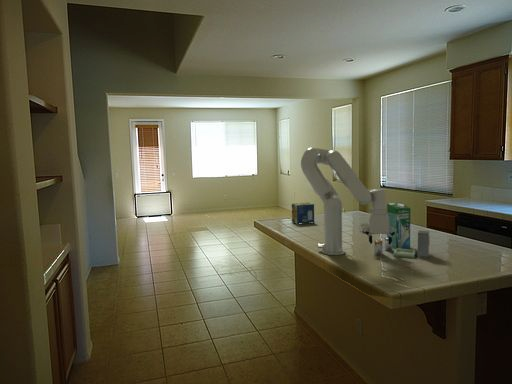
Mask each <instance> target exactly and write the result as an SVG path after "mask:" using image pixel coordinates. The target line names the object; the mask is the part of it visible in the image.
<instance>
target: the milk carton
mask: <svg viewBox="0 0 512 384" xmlns="http://www.w3.org/2000/svg"><path fill="white" fill-rule="evenodd" d="M386 211H387V214H388V217H389V223H390V225H391V226H393V227H395V228H397V231H396V232H395V234H394V235H393V236H392V238H393V240H392V249H394V250H395V249H396V248H399V249H409V248H411V207H409V206H407V205H406V204H404V203H402V202H401V201H400V202H390V203H389V202H388V203H387V202H386ZM393 231H394V230H393V229H391V228H390V232H391V233H392V232H393ZM386 237H389V235H388V234H386Z"/></svg>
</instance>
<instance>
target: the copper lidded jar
mask: <svg viewBox="0 0 512 384" xmlns="http://www.w3.org/2000/svg"><path fill="white" fill-rule="evenodd" d="M383 244H384V242H383V240H381V239H375V240H374V255H378V256H379V255H380V256H381V255H383Z"/></svg>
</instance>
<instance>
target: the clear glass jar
mask: <svg viewBox="0 0 512 384" xmlns="http://www.w3.org/2000/svg"><path fill="white" fill-rule="evenodd" d="M392 240H393V238H392ZM384 251H386V252H393V247H392V243H391V244H390V245H389V237H387V236H385V237H384Z"/></svg>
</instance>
